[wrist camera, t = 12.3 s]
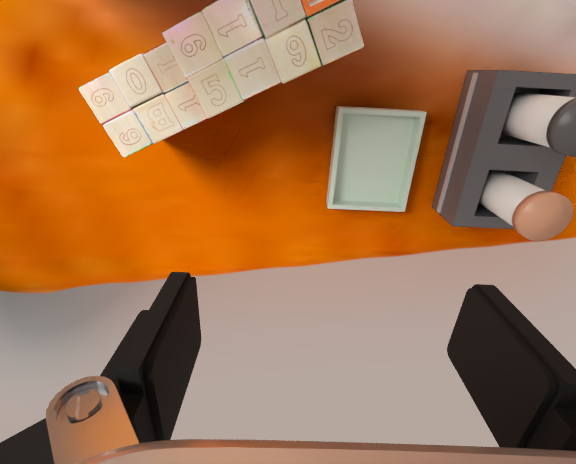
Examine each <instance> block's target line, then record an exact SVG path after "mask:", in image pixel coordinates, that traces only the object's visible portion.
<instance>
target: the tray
mask: <svg viewBox="0 0 576 464" xmlns="http://www.w3.org/2000/svg"><path fill="white" fill-rule="evenodd" d="M426 114H427V112H425V111H421V110H409V109H390V108H370V107H351V106H336V113H335V123H334V132H333V141H332V151H331V160H330V170H329V179H328V189H327V198H326V204H327V207H328V209H350V210H373V211H395V212H405V209H406V204H407V200H408V195H409V191H410V186H411V182H412V177H413V173H414V168H415V163H416V159H417V154H418V150H419V145H420V141H421V136H422V132H423V127H424V123H425V118H426Z"/></svg>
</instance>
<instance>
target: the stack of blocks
mask: <svg viewBox="0 0 576 464" xmlns="http://www.w3.org/2000/svg"><path fill="white" fill-rule="evenodd" d="M162 35H163V37H164V38H165V40H166V42H165V43H163V44H161V45H159V46H157V47H155V48H153V49H151V50H149V51H147V52H145V53H144V54H143V53H141V54H139V55H137V56H135V57H133V58H131V59H129V60H127V61H125V62H123V63H121V64H119V65H117V66H115V67H114V68H112V69H110V70H109V72H108V73H106V74H104V75H102V76H100V77H98V78H96V79H94V80H92V81H91V82H89V83H87V84H85V85H83V86H81V87H79V88H78V89H79V91H80V92H81V94H82V95H83V97H84V99H85V100H86V102H87V103H88V105H89V106H90V108H91V109H92V111H93V113H94V114H95V116H96V117H97V119H98V120H99V122H100V123H101V124H102V125H103V127H104V128H105V130H106V132H107V133H108V135H109V136H110V138H111V140H112V141H113V142H114V144H115V146H116V147H117V149H118V150H119V152H120V153H121V155H122V156H123V157H127V156H129V155H131V154H133V153H135V152H137V151H139V150H141V149H143V148H145V147H147V146H149V145H151V144H155V143H157V142H159V141H161V140H163V139H165V138H167V137H170V136H172V135H174V134H176V133H178V132H180V131H182V130H184V129H187V128H189V127H191V126H193V125H195V124H197V123H199V122H201V121H203V120H205V119H207V118H208V119H209V118H211V117H213V116H215V115H217V114H220V113H222V112H224V111H226V110H228V109H230V108H232V107H234V106H236V105H238V104H240V103H242V102H244V101H246V100H248V99H250V98H251V97H252V96H254V95H256V94H258V93H260V92H263V91H265V90H267V89H269V88H271V87H273V86H275V85H278V84H280V83H282V84H284V83H286V82H288V81H290V80H293V79H295V78H297V77H299V76H301V75H303V74H306V73H308V72H310V71H312V70H314V69H317V68H319V67H321V66H324V65H326V64H329V63H331V62H333V61H335V60H337V59H340V58H342V57H344V56H346V55H348V54H351V53H353V52H355V51H357V50H359V49H362V48H363V47H364V43H363V39H362V35H361V32H360V28H359V24H358V20H357V17H356V13H355V9H354V5H353V1H352V0H217V1H216V2H214V3H212V4H210V5H209V6H207V7H205V8H204V9H203V10H202V11H201V12H198V13H196V14H194V15H192V16H190V17H189V18H187V19H185V20H183V21H182V22H180V23H178V24H176V25H174V26H173V27H171V28H169V29H168V30H166V31H164V32H163V33H162Z"/></svg>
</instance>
